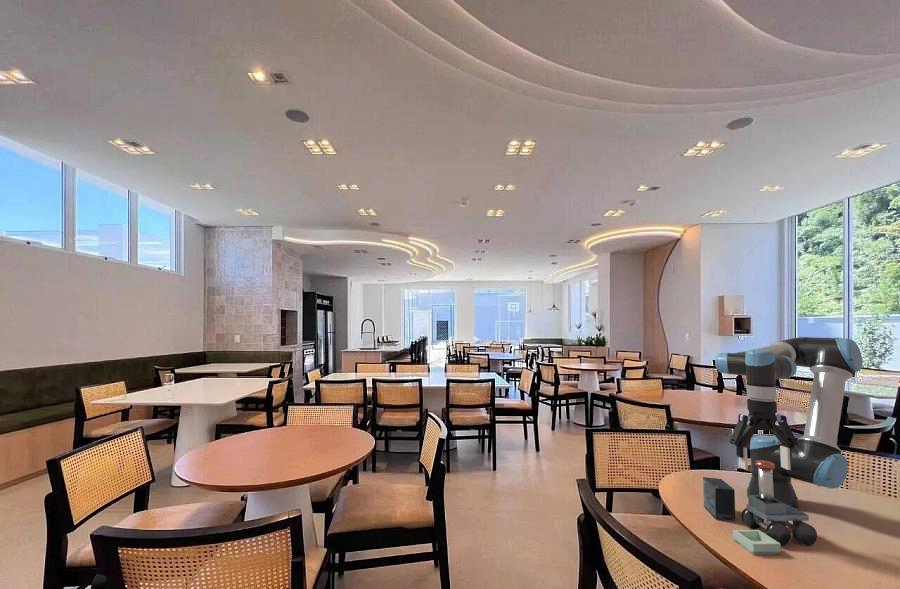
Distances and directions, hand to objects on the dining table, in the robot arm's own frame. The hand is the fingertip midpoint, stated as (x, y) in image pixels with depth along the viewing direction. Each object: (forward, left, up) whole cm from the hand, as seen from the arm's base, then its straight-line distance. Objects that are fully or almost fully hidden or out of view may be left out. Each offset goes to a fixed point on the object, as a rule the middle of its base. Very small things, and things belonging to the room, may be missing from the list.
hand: (764, 468), depth 129 cm
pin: (0, 0, -12) cm, 12 cm away
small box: (+5, -15, -21) cm, 26 cm away
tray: (+9, +6, -20) cm, 23 cm away
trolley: (-3, 0, -20) cm, 21 cm away
